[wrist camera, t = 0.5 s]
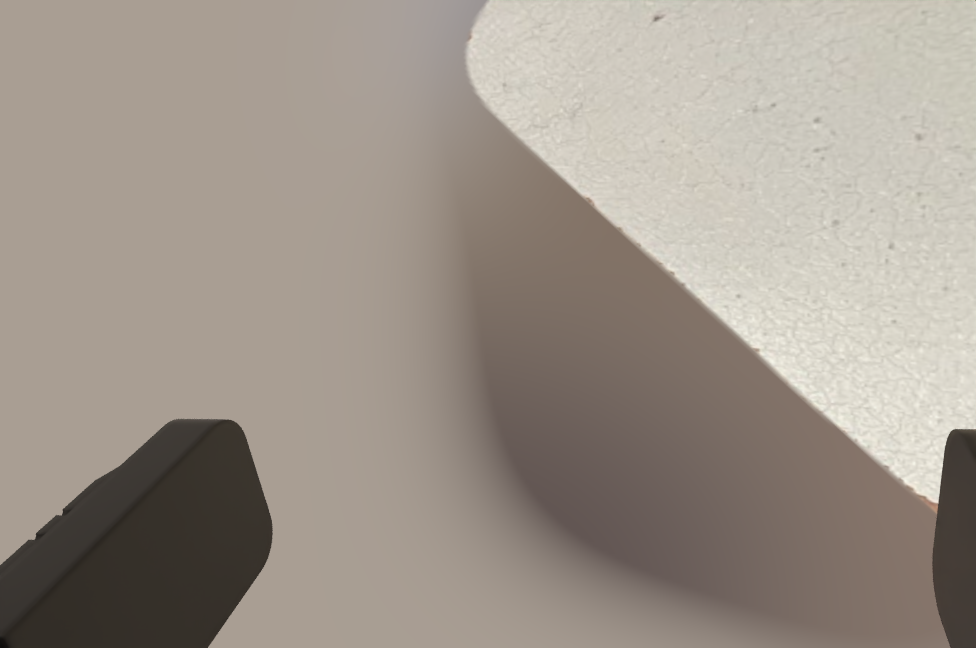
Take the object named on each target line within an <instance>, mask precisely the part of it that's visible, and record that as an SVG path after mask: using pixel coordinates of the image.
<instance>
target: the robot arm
mask: <svg viewBox="0 0 976 648" xmlns="http://www.w3.org/2000/svg"><path fill="white" fill-rule="evenodd" d="M271 543H272V520H271V516H270V513H269V509H268V506H267V503H266V500H265V497H264V494H263V491H262V487H261V484H260V481H259V478H258V474H257V471H256V468H255V465H254V462H253V459H252V455H251V452H250V449H249V446H248V442H247V439H246V437H245V434H244V432H243V430H242V428H241V427H240V426H239V425H238V424H237V423H236V422H234V421H232V420H218V419H176V420H173V421H170V422H169V423H167V424H166V425H165V426H164V427H162V428H161V429H160V430H159V431H158V432H157V433H156V434H155V435H154V436H152V437H151V438H150V439H149V440H148V441H147V442H146V443H145V444H144V445H143V446H142V447H141V448H139V449H138V450H137V451H136V452H135V453H134V454H133V455H132V456H130V457H129V458H128V459H127V460H126V461H125V462H124V463H123V464H122V465H121V466H119V467H118V468H116V469H114V470H113V471H111V472H109V473H107V474H106V475H104V476H102V477H101V478H99V479H97V480H95V481H94V482H93V483H92V484H91V485H90V486H88V487H87V488H86V489H85V490H84V491H83V492H82V493H81V494H79V495H78V496H77V497H76V498H75V499H74V500H73V501H72V502H71V503H69V504H68V505H67V506H66V507H65V508H64V509H63V514H62V516H59V515H56V516H55V517H54V518H53V519H52V520H51V521H49V522H48V523H47V524H46V525H45V526H44V527H43V528H42V529H40V530H39V531H38V532H37V533H36V539H35V540H28V541H27V542H26V543H25V544H24V545H22V546H21V547H20V548H19V549H18V550H17V551H16V552H15V553H14V554H13V555H12V556H10V557H9V558H8V559H7V560H6V561H5V562H3V564H1V565H0V648H208V646H209V645H210V644H211V642H212V641H213V639H214V638H215V636H216V635H217V634H218V632H219V631H220V629H221V628H222V626H223V625H224V623H225V622H226V620H227V619H228V617H229V616H230V615H231V613H232V612H233V611H234V609H235V608H236V606H237V605H238V603H239V602H240V601H241V599H242V598H243V596H244V595H245V593H246V592H247V590H248V589H249V588H250V586H251V584H252V583H253V582H254V580H255V579H256V578H257V576H258V574H259V573H260V572H261V570H262V569H263V567H264V565H265V563H266V561H267V559H268V555H269V553H270V548H271ZM933 582H934V591H935V597H936V602H937V607H938V611H939V615H940V618H941V621H942V624H943V627H944V630H945V633H946V636H947V639H948V641H949V644H950V647H951V648H976V429H954V430H952V431H951V432H950V434H949V436H948V438H947V442H946V446H945V452H944V461H943V469H942V478H941V486H940V495H939V504H938V512H937V521H936V529H935V538H934V547H933Z"/></svg>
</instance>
